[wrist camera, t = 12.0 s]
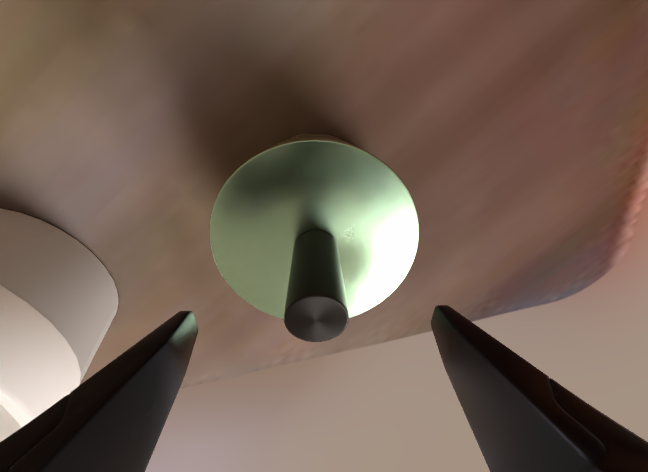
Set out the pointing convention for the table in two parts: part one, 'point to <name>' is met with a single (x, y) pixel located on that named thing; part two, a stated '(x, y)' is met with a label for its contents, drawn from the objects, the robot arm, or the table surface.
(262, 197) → the lid
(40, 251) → the bowl
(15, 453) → the robot arm
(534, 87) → the table surface
